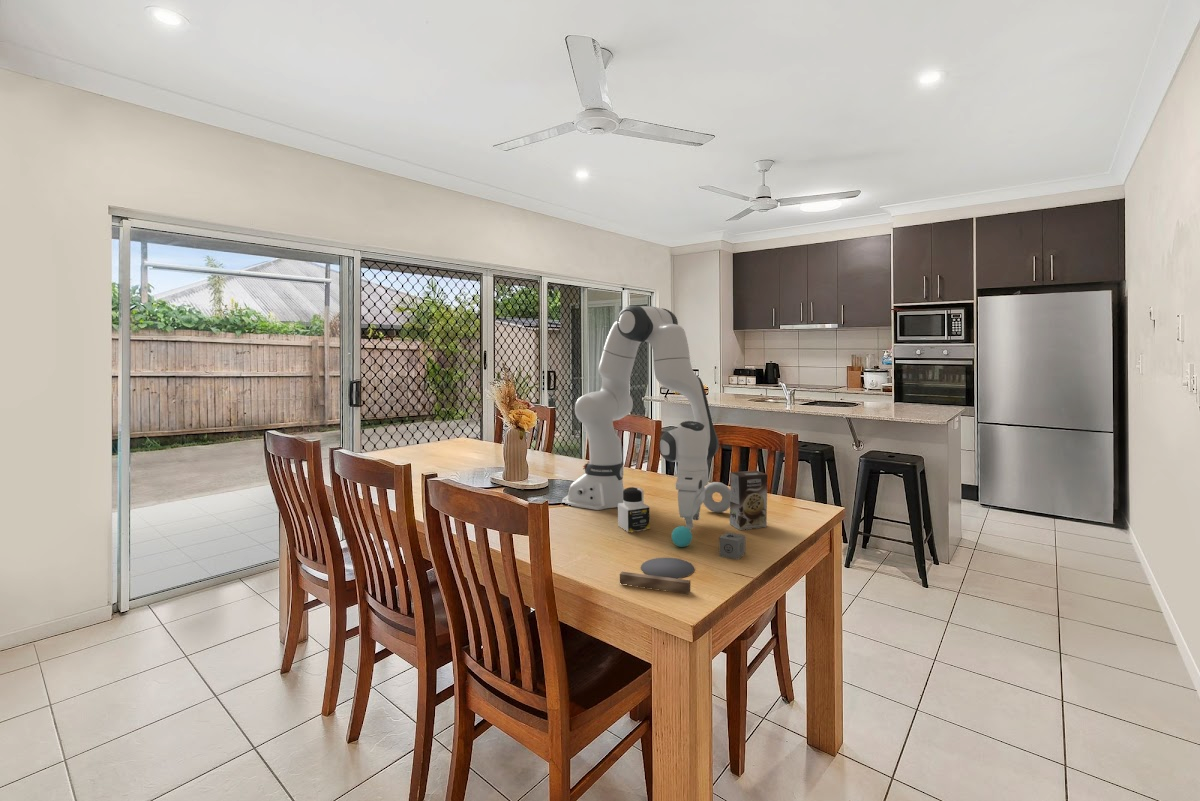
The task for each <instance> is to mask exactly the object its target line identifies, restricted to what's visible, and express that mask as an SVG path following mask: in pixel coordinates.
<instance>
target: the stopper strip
mask: <svg viewBox="0 0 1200 801" xmlns="http://www.w3.org/2000/svg"><path fill="white" fill-rule="evenodd" d="M620 583H621V584H627V585H632V586H631V587H633V586H638V587H637V588H640V587H645V588H644V589H647V588H652V589H651V590H655V589H659V590H658V591H662V590H666V591H665V592H669V591H671V593H677V592H678V594H685V595H690V593H691V579H689V580H688V579H683V578H678V579H676V578H668V577H660V576H652V575H647V574H645V573H636V572H628V571H627V572H626V571H620V573H619V584H620Z"/></svg>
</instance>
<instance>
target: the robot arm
mask: <svg viewBox="0 0 1200 801" xmlns="http://www.w3.org/2000/svg"><path fill="white" fill-rule="evenodd" d="M644 342H647V343H649V345H650V346H651V348H652V357H653V358H652V359H653V370H654V371H653V372H654V376H655V378H656V380H657V381H658V383H659V384H660V385H661V386H662V387H664V388H665V389H668V390H669V391H673V392H675V393H678V394H681V395H683V396H684V397H685V398H686V399H687V400H688V401H689V403H690V406H691V411H692V416H693V420H694V421H692V420H686V421H682V422H680V423H679V424H678V426H677V427H675V428H674V429H671V430H667V431H664V432H663V433H662V435H661V436H660V439H659V442H658V447H659V448H658V450H659V454H660V456H661V457H663V459H664V460H666V461H667V462H673V463H677V468H676V471H677V473H676V474H677V476H676V477H677V478H676V481H675V490H677V503H678V504H677V505H678V514H679V516H680V518H682V519H683V518H684V522H685V527H687V528H688V529H689V530H690V531H692V530H693V529H694V521H699V519H700V512H701V506H702V504H704V503H703V501H704V499H705V487H706V486H707V485H708V484H709V465H708V461H710V460H712V459H713V458H714V457H715V456H716V454H717V453H718V450H719V448H720V440H719V438H718V434H717V433H716V430H715V427H714V423H713V420H712V415H711V412H710V406H709V402H708V399H707V394H706V390H705V387H704V386H705V385H704V383H703V381H702V379H701V378H700V377H699V376H698V375H696V373H695V372H694V369H693V368H692V364H691V356H690V349H689V348H690V347H689V343H688V342H689V341H688V339H687V335H686V330H685V329H684V328H683V327H682V326H681V325H679V322H678V319H677V316H676V314H674V312H672V311H671V310H668V309H666V308H660V307H657V306H652V305H646V306H645V305H628V306H626V307H624V308H622V309H621V310H620V312H619V313H618V317H617V319H616V321H614V322H613V324H612V325H611V328H610V330H609V332H608V334H607V337H606V339H605V342H604V345H603V350H602V353H601V358H600V360H599V363H598V364H599V365H598V368H597V370H598V371H597V372H598V374H599V375H600V377H601V386H600V390H596V391H591V392H590V391H589V392H587V393H585V394H584V395H581V396H580V397H578V399H577V400H576V401H575V404H574V413H575V417H576V419H577V420H578V421H579V422H580V423H582V425H583V427H584V430H585V432H586V435H587V440H588V449H589V450H588V451H589V452H588V453H589V454H588V455H589V461H587V463H585V464H584V465H582V467H583V468H582V470H584V473H583V474H581V475H580V476H579V477H578V478H576V479H575V480H574V481H573V482H571V484H570V486H569V489H568V494H567V495H566V496H565V497H563V498H562V500H561V504H562V503H565V504H568V505H567V506H569V505H571V506H572V507H576V508H583V509H590V510H594V511H599V510H606V509H612V508H618V504H619V503H624V502H623V490H624V489H625V487H624V462H623V458H622V451H623V450H622V439H621V437H620V436H619V435H618V434H617V433H616V430H615V427H614V422H615V421H620V420H621V419H623V418H625V417H627V416H628V415H629V414H630V413H631V412H632V410H633V406H634V402H633V397H632V396H631V393H630V380H631V376H632V372H633V368H634V364H635V361H636V358H637V355H638V354H637V353H638V350H639V347H640V344H641V343H644ZM571 506H570V507H571Z"/></svg>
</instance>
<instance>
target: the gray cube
mask: <svg viewBox="0 0 1200 801" xmlns="http://www.w3.org/2000/svg"><path fill="white" fill-rule="evenodd" d="M718 540H719V541H718V542H719V543H718V546H719V548H718V550H719V551H718V552H719V553H718V554H719V557H722V558H726V559H731V560H739V559H741V558H742V557H743V556H744V555H746V535H745V534H740V533H735V532H729V531H726V532H725V533H723V534H722V535H721V536H719V539H718Z"/></svg>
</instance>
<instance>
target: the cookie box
mask: <svg viewBox="0 0 1200 801" xmlns="http://www.w3.org/2000/svg"><path fill="white" fill-rule="evenodd" d="M729 486H730V488H729V489H730V508H729V525H731V526H732V527H734V528H735V529H737V530H738V531H743V530H744V531H745V529H746V530H753V529H752V528H756V529H761V528H760V527H765V528H767V523H768V522H767V521H768V520H767V519H768V516H767V515H768V512H767V511H768V473H764V472H761V471H758V470H747V471H744V470H743V471H733V472H732V471H731V472H730V485H729Z"/></svg>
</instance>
